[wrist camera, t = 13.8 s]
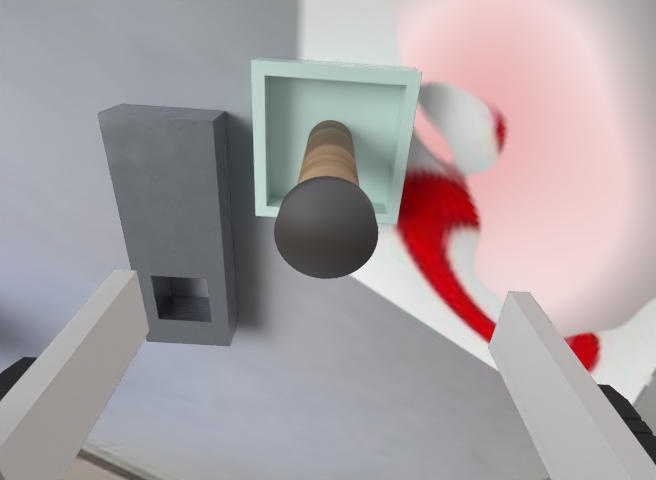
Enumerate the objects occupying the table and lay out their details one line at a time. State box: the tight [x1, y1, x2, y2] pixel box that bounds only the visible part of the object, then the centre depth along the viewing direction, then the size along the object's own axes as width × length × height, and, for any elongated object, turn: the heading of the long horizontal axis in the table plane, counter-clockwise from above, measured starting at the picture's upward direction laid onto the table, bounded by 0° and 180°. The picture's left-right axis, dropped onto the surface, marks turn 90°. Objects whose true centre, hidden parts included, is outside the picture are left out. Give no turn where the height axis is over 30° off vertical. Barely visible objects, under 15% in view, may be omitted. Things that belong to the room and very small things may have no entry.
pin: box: [274, 120, 378, 279], centre depth 27 cm, size 5×5×18 cm
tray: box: [251, 57, 422, 225], centre depth 34 cm, size 13×13×3 cm
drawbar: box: [97, 104, 238, 346], centre depth 38 cm, size 24×9×4 cm, turn 176°
